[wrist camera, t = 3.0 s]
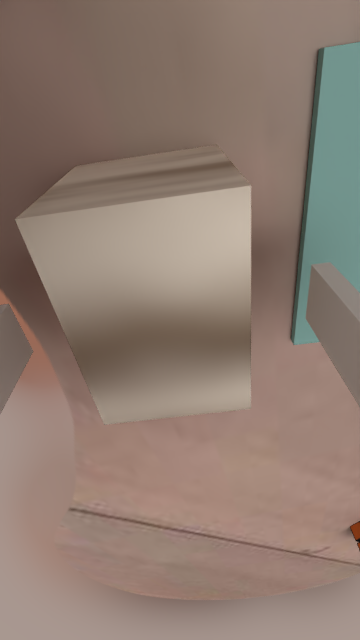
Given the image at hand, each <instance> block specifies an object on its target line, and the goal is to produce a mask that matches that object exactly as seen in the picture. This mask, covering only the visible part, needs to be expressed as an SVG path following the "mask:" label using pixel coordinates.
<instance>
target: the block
mask: <svg viewBox="0 0 360 640" xmlns="http://www.w3.org/2000/svg"><path fill="white" fill-rule="evenodd" d="M15 221H16V223H17V226H18V228H19V230H20V233H21V235H22V237H23V239H24V242H25V244H26V246H27V249H28V251H29V253H30V255H31V258H32V260H33V262H34V265H35V267H36V269H37V271H38V274H39V276H40V278H41V281H42V283H43V285H44V288H45V290H46V292H47V294H48V297H49V299H50V301H51V304H52V306H53V308H54V310H55V313H56V315H57V317H58V320H59V322H60V324H61V327H62V329H63V331H64V333H65V336H66V338H67V340H68V343H69V345H70V347H71V349H72V352H73V354H74V356H75V359H76V361H77V363H78V365H79V368H80V370H81V372H82V375H83V377H84V379H85V382H86V384H87V386H88V388H89V391H90V393H91V395H92V398H93V400H94V402H95V404H96V407H97V409H98V411H99V414H100V416H101V418H102V420H103V423H104V425H107V424H116V423H125V422H134V421H143V420H152V419H162V418H171V417H180V416H189V415H198V414H208V413H217V412H226V411H235V410H244V409H251V185H250V184H249V182H248V181H247V180H246V179H245V178H244V176H243V175H242V174H241V173H240V172H239V170H238V169H237V168H236V167H235V166H234V165H233V163H232V162H231V161H230V160H229V159H228V157H227V156H226V155H225V154H224V153H223V151H222V150H221V149H220V148H219V147H218V145H211V146H204V147H197V148H191V149H184V150H177V151H171V152H164V153H157V154H151V155H144V156H137V157H131V158H124V159H117V160H111V161H104V162H98V163H91V164H84V165H78V166H75V167H74V168H73V169H72V170H70V171H69V172H68V173H67V174H66V175H65V176H64V177H62V178H61V179H60V180H59V181H58V182H57V183H56V184H54V185H53V186H52V187H51V188H50V189H49V190H48V191H46V192H45V193H44V194H43V195H42V196H41V197H40V198H38V199H37V200H36V201H35V202H34V203H33V204H32V205H30V206H29V207H28V208H27V209H26V210H25V211H24V212H23V213H21V214H20V215H19V216H18V217H17V218H16V219H15Z"/></svg>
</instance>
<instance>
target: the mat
mask: <svg viewBox="0 0 360 640" xmlns="http://www.w3.org/2000/svg"><path fill="white" fill-rule="evenodd" d="M328 262H330V263H331V264H332V265H333V266H334V267H335V268H336V269H337V270H338V271H339V272H340V273H341V274H342V275H343V276H344V277H345V278H346V279H347V280H348V281H349V282H350V283H351V284H352V285H353V286H354V287H355V289H356V290H357V291H358V292H359V293H360V42H357V43H351V44H345V45H339V46H332V47H326V48H322V49H319V54H318V64H317V74H316V85H315V95H314V106H313V116H312V127H311V137H310V148H309V158H308V168H307V179H306V189H305V200H304V210H303V221H302V231H301V242H300V252H299V263H298V273H297V283H296V294H295V304H294V315H293V325H292V336H291V340H292V342H293V344H294V345H298V344H306V343H315V342H320V341H319V340H318V338H317V336H316V335H315V333H314V331H313V330H312V328H311V327H310V325H309V323H308V322H307V320H306V318H305V317H306V309H307V300H308V291H309V282H310V274H311V265H312V264H320V263H328Z"/></svg>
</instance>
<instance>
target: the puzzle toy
mask: <svg viewBox="0 0 360 640" xmlns="http://www.w3.org/2000/svg"><path fill="white" fill-rule="evenodd" d="M350 528H351V531H352V533H353V535H354V538H355V540H356V541H357V542H358V543H357V545H358V547H359V550H360V521H359V522H357V523H355V524H353V525H352V526H350Z"/></svg>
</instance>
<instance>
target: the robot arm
mask: <svg viewBox="0 0 360 640" xmlns="http://www.w3.org/2000/svg"><path fill="white" fill-rule="evenodd" d="M305 318H306V320H307V322H308V323H309V325H310V327H311V328H312V330H313V331H314V333H315V335H316V336H317V338H318V340H319V341H320V343H321V345H322V346H323V348H324V349H325V351H326V353H327V354H328V356H329V358H330V359H331V361H332V363H333V364H334V366H335V367H336V369H337V371H338V372H339V374H340V376H341V377H342V379H343V380H344V382H345V384H346V385H347V387H348V389H349V390H350V392H351V394H352V395H353V397H354V398H355V400H356V402H357V403H358V405H359V407H360V293H359V292H358V291H357V290H356V289H355V287H354V286H353V285H352V284H351V283H350V282H349V281H348V280H347V279H346V278H345V277H344V276H343V275H342V274H341V273H340V272H339V271H338V270H337V269H336V268H335V267H334V266H333V265H332V264H331V263H330V262H328V263H320V264H312V265H311V274H310V282H309V291H308V300H307V309H306V317H305ZM32 353H33V350H32V348H31V346H30V344H29V342H28V340H27V338H26V336H25V334H24V332H23V330H22V328H21V326H20V325H19V323H18V321H17V319H16V317H15V315H14V313H13V311H12V309H11V307H10V305H9V304H4V305H0V414H1V412H2V410H3V408H4V406H5V404H6V402H7V400H8V398H9V396H10V395H11V392H12V391H13V389H14V387H15V385H16V383H17V381H18V379H19V378H20V376H21V374H22V372H23V370H24V368H25V366H26V364H27V362H28V360H29V358H30V356H31V355H32Z"/></svg>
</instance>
